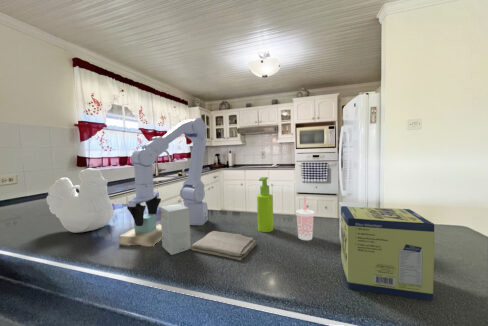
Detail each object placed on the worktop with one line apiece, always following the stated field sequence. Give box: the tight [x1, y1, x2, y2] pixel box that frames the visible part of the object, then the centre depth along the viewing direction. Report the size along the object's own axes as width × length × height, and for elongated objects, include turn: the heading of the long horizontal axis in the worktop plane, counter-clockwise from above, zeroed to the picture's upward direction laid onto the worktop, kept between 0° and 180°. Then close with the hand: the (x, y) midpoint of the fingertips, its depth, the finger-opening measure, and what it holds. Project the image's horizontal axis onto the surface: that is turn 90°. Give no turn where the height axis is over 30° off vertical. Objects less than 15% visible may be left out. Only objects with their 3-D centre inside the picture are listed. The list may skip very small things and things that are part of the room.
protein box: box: [340, 206, 435, 302], centre depth 48 cm, size 10×16×16 cm
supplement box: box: [338, 201, 367, 242], centre depth 67 cm, size 7×7×13 cm
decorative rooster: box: [45, 167, 115, 234], centre depth 87 cm, size 25×16×25 cm, turn 75°
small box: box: [160, 203, 192, 256], centre depth 67 cm, size 8×6×13 cm
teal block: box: [133, 213, 157, 233], centre depth 75 cm, size 5×5×5 cm
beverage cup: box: [295, 196, 315, 241], centre depth 73 cm, size 6×6×14 cm
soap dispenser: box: [256, 176, 274, 233], centre depth 81 cm, size 6×7×20 cm
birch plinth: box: [118, 223, 162, 247], centre depth 76 cm, size 12×12×3 cm
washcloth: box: [190, 230, 257, 261], centre depth 67 cm, size 12×18×3 cm, turn 67°
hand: (146, 221), depth 75 cm, fingers open, 7 cm apart
